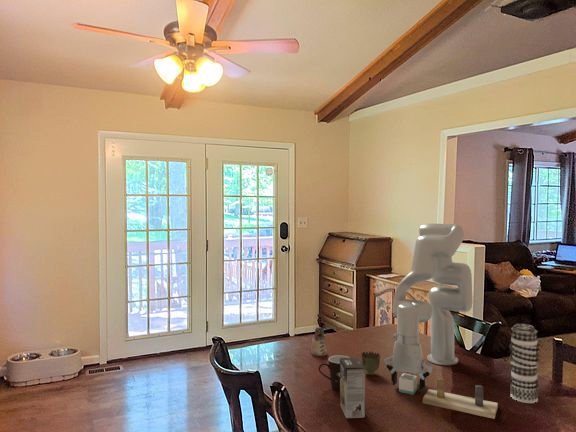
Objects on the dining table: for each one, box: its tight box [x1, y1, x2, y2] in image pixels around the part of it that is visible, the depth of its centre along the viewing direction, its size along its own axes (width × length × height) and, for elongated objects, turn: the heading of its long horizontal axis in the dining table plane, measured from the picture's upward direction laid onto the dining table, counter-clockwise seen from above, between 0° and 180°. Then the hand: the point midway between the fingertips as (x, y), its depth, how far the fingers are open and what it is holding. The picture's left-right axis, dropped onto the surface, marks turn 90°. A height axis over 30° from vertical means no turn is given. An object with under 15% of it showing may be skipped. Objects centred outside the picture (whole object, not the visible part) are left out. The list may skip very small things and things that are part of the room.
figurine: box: [310, 326, 328, 357], centre depth 198 cm, size 7×7×12 cm
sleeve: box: [398, 372, 418, 396], centre depth 158 cm, size 5×5×5 cm
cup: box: [360, 351, 381, 377], centre depth 173 cm, size 8×7×8 cm
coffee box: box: [339, 357, 366, 419], centre depth 142 cm, size 9×6×16 cm
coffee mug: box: [318, 355, 351, 391], centre depth 162 cm, size 12×9×10 cm
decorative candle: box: [508, 323, 541, 404], centre depth 151 cm, size 9×9×25 cm
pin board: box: [422, 377, 499, 420], centre depth 146 cm, size 9×22×8 cm, turn 59°
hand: (408, 386), depth 158 cm, fingers open, 9 cm apart
